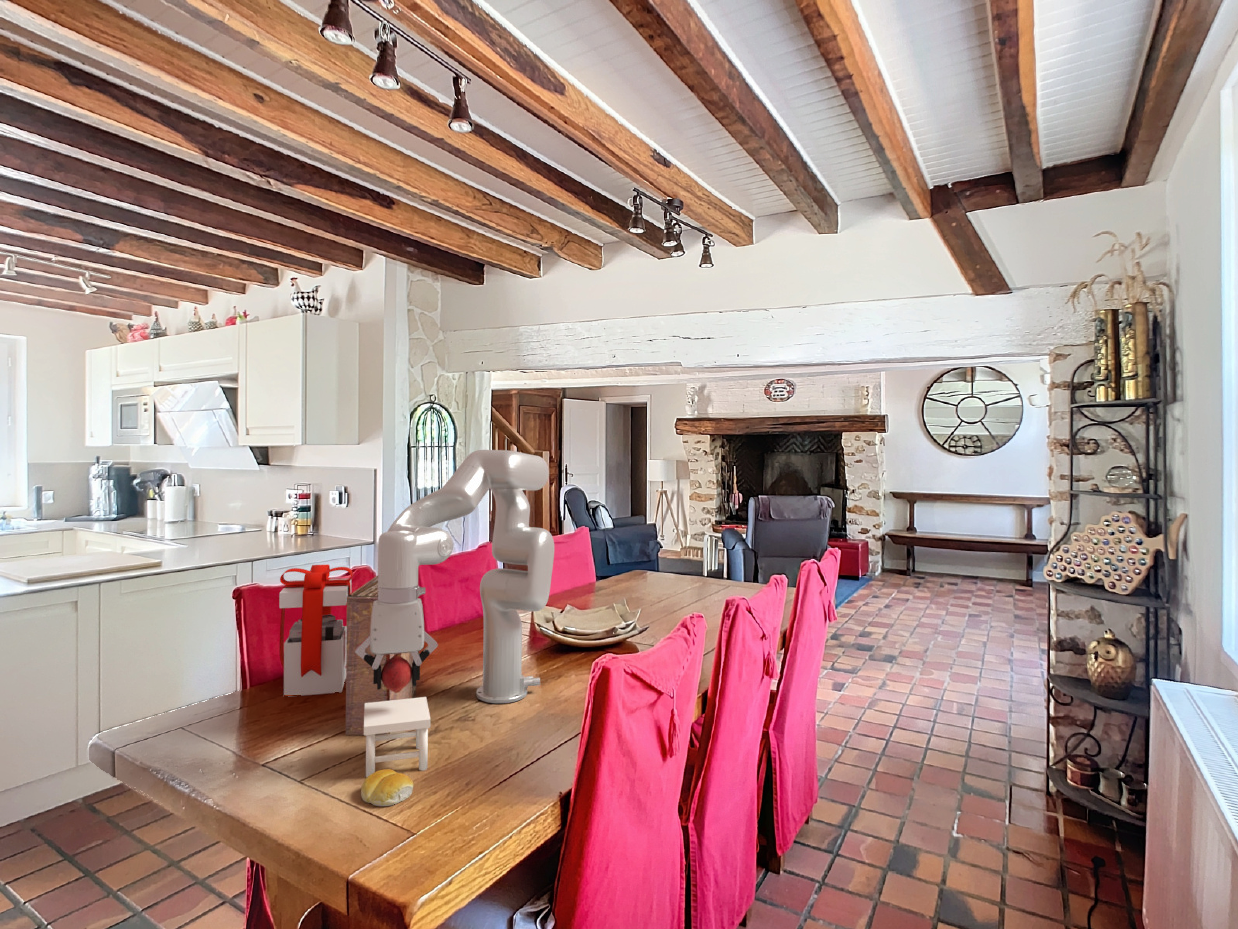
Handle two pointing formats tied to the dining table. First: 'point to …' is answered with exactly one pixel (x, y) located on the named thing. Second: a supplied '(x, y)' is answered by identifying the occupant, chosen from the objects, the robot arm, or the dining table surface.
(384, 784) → the bread roll
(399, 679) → the onion
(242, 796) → the dining table surface
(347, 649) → the book
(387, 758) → the stool
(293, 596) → the gift wrap
